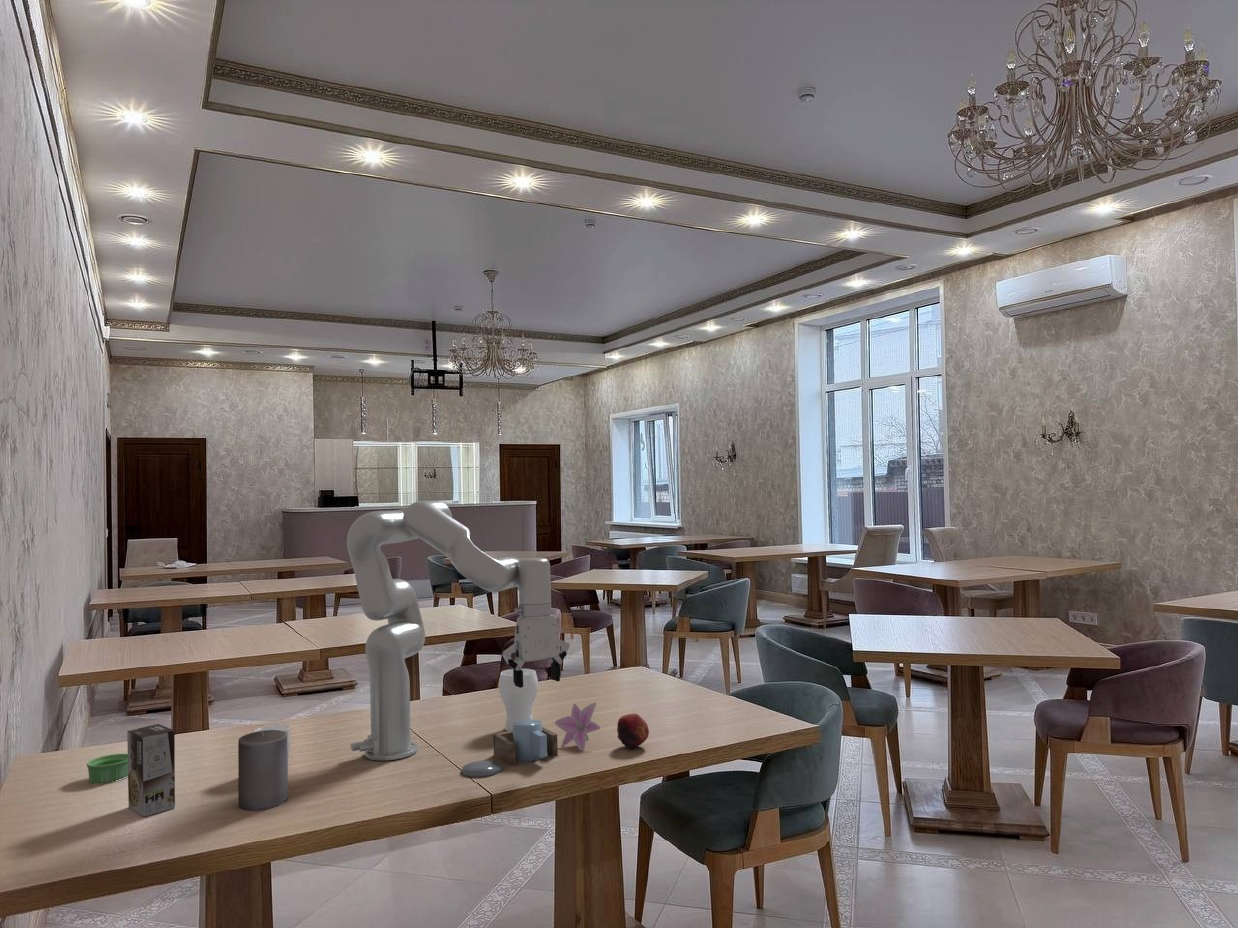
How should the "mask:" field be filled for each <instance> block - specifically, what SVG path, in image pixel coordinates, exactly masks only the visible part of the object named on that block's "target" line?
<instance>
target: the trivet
mask: <svg viewBox="0 0 1238 928" xmlns="http://www.w3.org/2000/svg"><path fill="white" fill-rule="evenodd" d="M502 765H503V764H501V762H499V761H495V760H478V761H477V760H475V761H472V762H469V763H466V764H465V765H463V766H462V768H461V773H462V775H464V776H465V777H469V778H484V777H485V778H486V777H491V776H494V775H495V776H496V775H497V774H499V773H501V772H502V770H503V766H502Z"/></svg>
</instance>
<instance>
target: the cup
mask: <svg viewBox="0 0 1238 928" xmlns="http://www.w3.org/2000/svg"><path fill="white" fill-rule="evenodd" d="M521 670H522V671H523V687H522V688H519V687H517V686H515V684H514V681H513V669H512V668H511V669H505V670H503V671H501V672H500V676H499V679H498V680H499V681H498V693H499V695H500V699H501V701H502V703H503V704H504V707H505V713H506V716H505V717H506V718H505V723H504V724H505V725H504V730H505V731H506V732H508V731H513V723H514V722H516V721H519V720H526V719H533V714H532V712H533V703H534V702H535V699H536V698H537V695H538V694H537V693H538V691H539V690H538V689H539V684H538V683H539V679H538V675H537V671H536V670H535V669H532V668H521Z"/></svg>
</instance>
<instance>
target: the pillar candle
mask: <svg viewBox="0 0 1238 928" xmlns="http://www.w3.org/2000/svg"><path fill="white" fill-rule="evenodd" d="M287 735H288V734H287V732H284V731H280V730H264V731H263V730H262V731H258V732H254V731H253V732H250V733H246V734H244V735H242V736H241V737H239V738H238V744H237V745H238V747H237V753H238V762H237V763H238V768H237V769H238V773H237V774H238V775H237V776H238V777H237V779H238V780H237V781H238V782H237V784H238V785H237V786H238V795H237V796H238V797H237V799H238V800H237V801H238V802H237V804H238V807H239V808H240V809H242V810H245V811H260V810H261V811H262V809H263V810H267V808H268V809H271V808H270V807H272V808H274V806H275V807H278V806H280V805H279V804H281V803H282V804H283V803H284V802H285V801H287V799H288V798H289V797H288V796H289V759H288V753H287V750H288V747H287ZM282 804H281V805H282ZM277 805H278V806H277Z"/></svg>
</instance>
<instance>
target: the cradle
mask: <svg viewBox="0 0 1238 928" xmlns="http://www.w3.org/2000/svg"><path fill="white" fill-rule="evenodd" d="M542 733H544V734H546V735H547V755H550V756H552V757H556V756H559V755H558V754H559V751H558V749H559V748H558V746H559V745H558V734H557V733H555V732H553V731H551V730H549V729H547V728H546V727H543V726H542ZM492 741H493V756H494V757H496V758H497V759H499V760H501V761H503V762H504V763H506V764H507V765H509V766H515V765H516V760H515V743H514V742H513V731H503V732H499V733H493V739H492Z"/></svg>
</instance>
